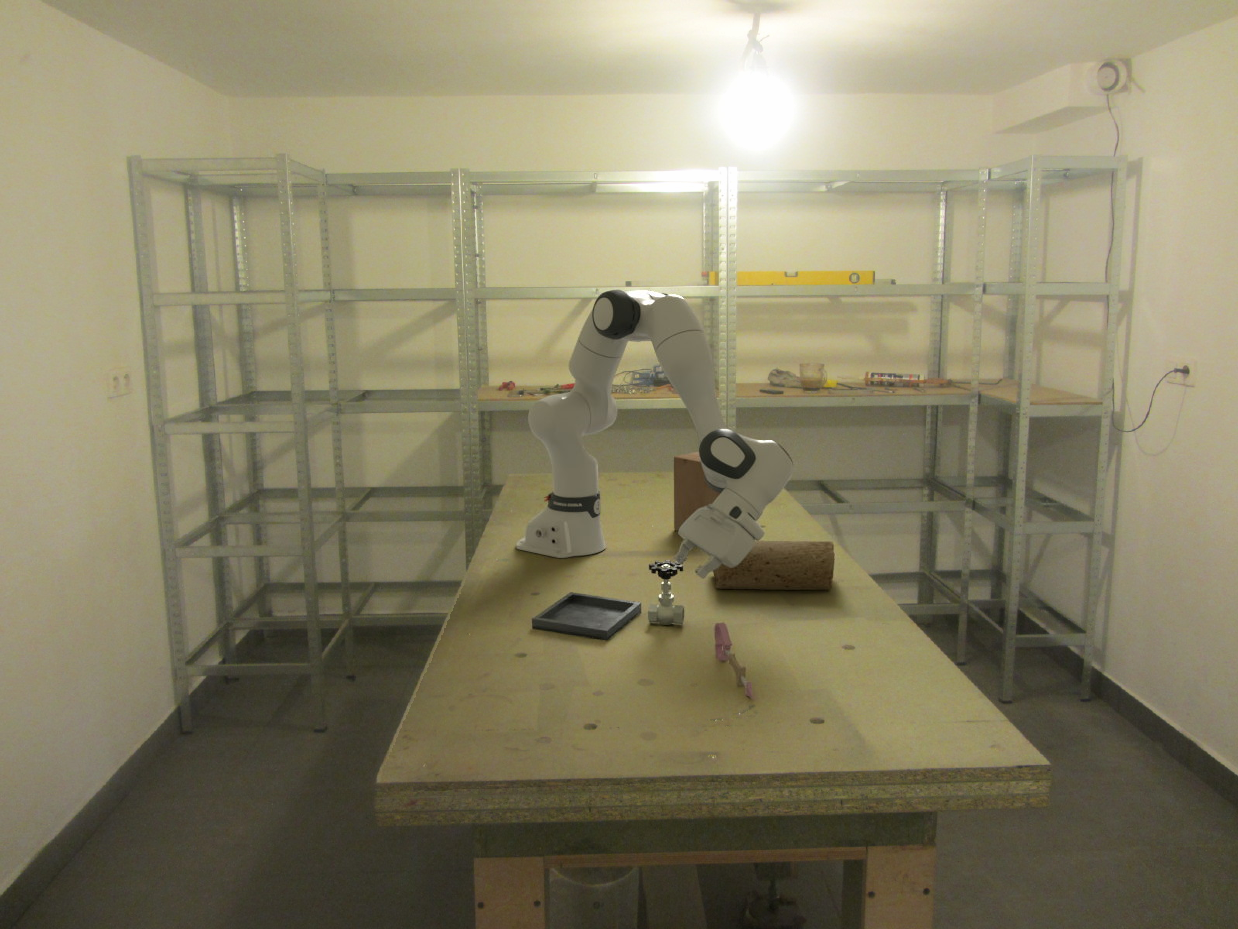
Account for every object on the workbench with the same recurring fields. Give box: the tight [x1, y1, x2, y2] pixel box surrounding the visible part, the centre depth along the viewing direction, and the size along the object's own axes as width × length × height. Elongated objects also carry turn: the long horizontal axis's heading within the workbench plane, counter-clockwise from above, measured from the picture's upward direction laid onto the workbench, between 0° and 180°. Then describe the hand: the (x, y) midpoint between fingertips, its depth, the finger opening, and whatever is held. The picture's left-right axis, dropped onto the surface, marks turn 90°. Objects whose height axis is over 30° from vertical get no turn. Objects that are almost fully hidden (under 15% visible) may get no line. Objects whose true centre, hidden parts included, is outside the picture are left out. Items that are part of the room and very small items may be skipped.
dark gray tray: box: [531, 591, 642, 642], centre depth 178 cm, size 16×16×2 cm
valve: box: [647, 559, 685, 626], centre depth 174 cm, size 7×7×12 cm
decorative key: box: [713, 622, 756, 701], centre depth 152 cm, size 7×1×20 cm
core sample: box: [712, 540, 836, 591], centre depth 196 cm, size 14×26×10 cm, turn 85°
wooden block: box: [673, 451, 721, 532], centre depth 237 cm, size 10×10×20 cm
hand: (687, 568), depth 175 cm, fingers open, 8 cm apart
